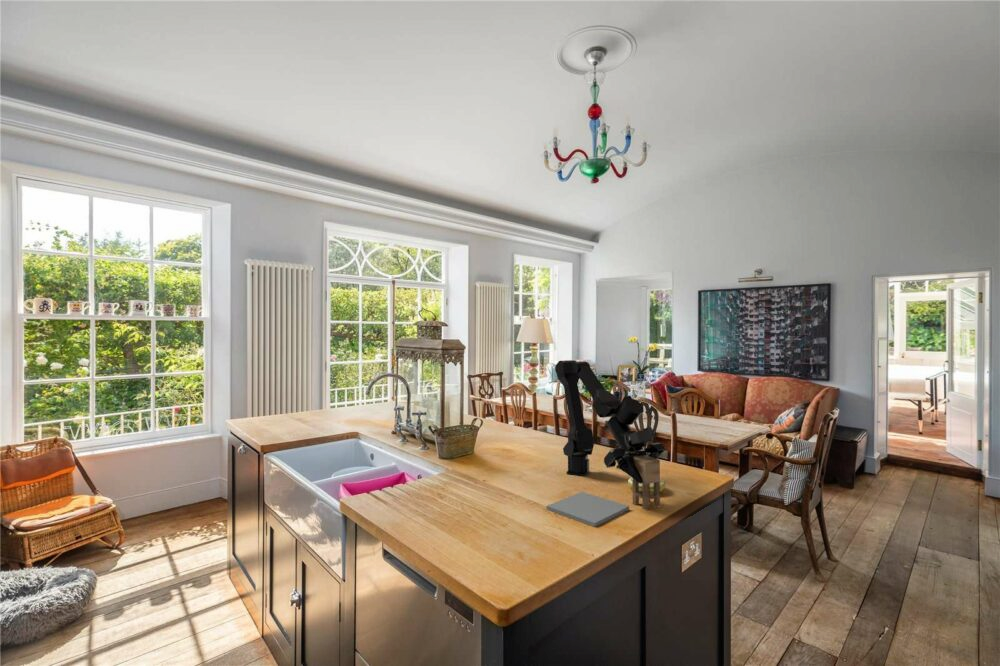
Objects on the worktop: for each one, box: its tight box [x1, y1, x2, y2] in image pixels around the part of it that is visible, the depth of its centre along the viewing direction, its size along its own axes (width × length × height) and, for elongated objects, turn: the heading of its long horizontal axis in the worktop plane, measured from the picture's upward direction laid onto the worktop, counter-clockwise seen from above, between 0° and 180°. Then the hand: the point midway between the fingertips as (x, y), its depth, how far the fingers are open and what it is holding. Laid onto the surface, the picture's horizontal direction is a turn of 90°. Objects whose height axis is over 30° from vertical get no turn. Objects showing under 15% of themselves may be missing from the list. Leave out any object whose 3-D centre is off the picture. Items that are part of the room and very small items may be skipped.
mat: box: [546, 491, 630, 528], centre depth 127 cm, size 16×16×1 cm
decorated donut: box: [627, 476, 665, 495], centre depth 142 cm, size 10×11×4 cm
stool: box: [632, 456, 661, 511], centre depth 130 cm, size 5×5×13 cm
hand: (649, 481), depth 129 cm, fingers closed on stool, 5 cm apart
